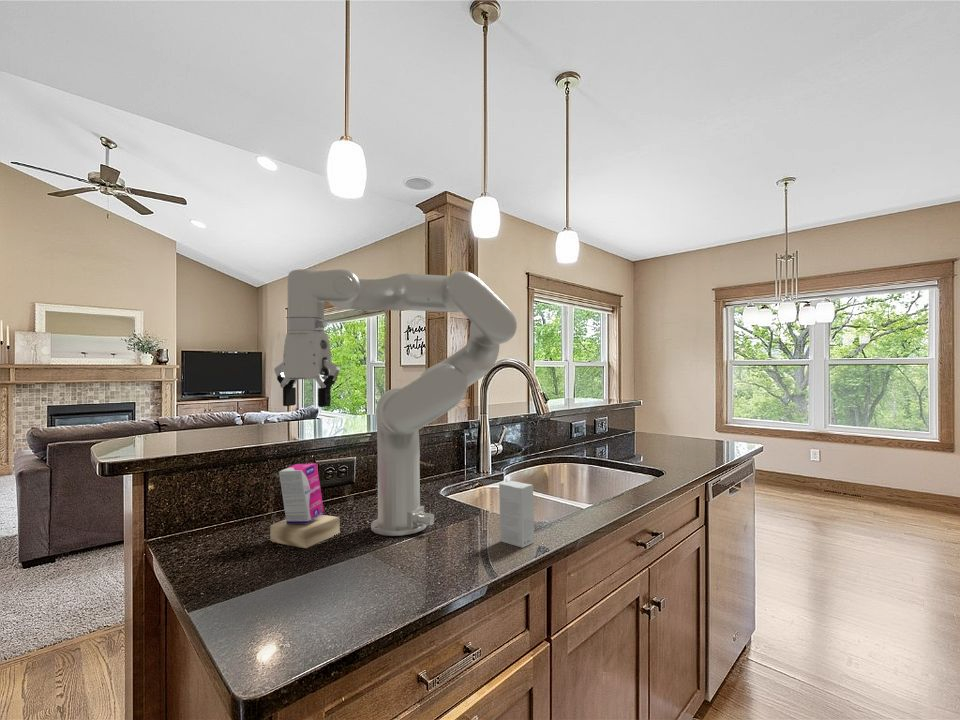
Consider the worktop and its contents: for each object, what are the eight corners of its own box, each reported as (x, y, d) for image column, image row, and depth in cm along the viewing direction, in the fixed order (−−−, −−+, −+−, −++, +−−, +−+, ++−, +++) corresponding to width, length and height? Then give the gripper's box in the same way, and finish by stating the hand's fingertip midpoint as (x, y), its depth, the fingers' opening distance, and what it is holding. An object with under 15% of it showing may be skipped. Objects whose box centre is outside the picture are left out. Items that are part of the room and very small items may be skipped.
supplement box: (309, 523, 102) (300, 470, 101) (285, 524, 104) (276, 471, 103) (325, 512, 107) (317, 461, 107) (303, 513, 109) (294, 463, 109)
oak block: (339, 535, 108) (339, 517, 108) (306, 550, 99) (306, 531, 99) (305, 529, 113) (305, 512, 113) (270, 543, 103) (270, 524, 104)
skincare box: (534, 542, 101) (534, 484, 101) (522, 548, 98) (521, 488, 98) (512, 536, 105) (511, 480, 105) (499, 541, 102) (498, 483, 102)
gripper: (349, 327, 107) (350, 405, 106) (288, 330, 113) (289, 404, 113) (325, 324, 100) (326, 408, 99) (262, 328, 107) (263, 406, 106)
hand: (306, 406), depth 106 cm, fingers open, 9 cm apart
